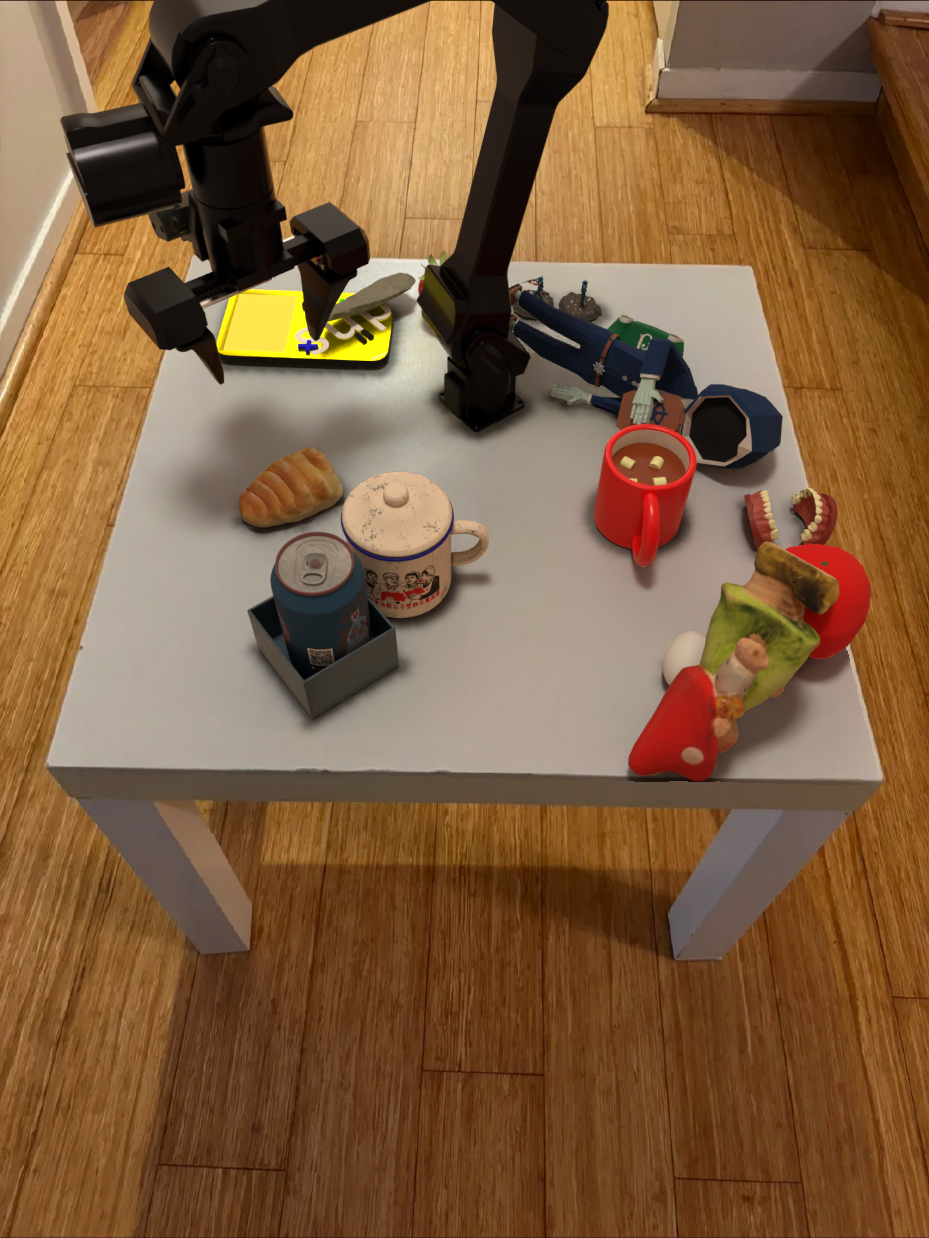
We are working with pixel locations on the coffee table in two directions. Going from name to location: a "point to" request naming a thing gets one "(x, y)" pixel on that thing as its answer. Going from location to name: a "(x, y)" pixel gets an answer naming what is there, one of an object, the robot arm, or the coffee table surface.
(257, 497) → the pastry
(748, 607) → the figurine
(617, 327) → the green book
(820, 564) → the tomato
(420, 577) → the teacup with lid
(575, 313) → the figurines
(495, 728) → the coffee table surface
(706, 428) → the figurine
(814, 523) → the dentures
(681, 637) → the egg
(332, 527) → the coffee table surface
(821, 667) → the coffee table surface
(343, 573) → the soda can
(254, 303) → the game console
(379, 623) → the bin
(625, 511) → the mug
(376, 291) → the stone
